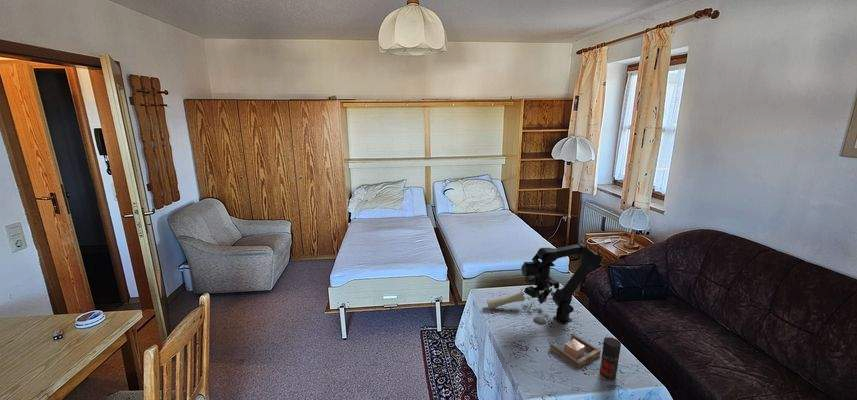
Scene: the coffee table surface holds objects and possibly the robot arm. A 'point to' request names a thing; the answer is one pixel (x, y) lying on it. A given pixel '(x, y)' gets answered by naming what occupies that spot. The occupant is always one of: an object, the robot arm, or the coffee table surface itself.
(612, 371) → the deodorant
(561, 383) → the coffee table surface
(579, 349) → the terracotta block
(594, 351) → the bay
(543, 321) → the pad
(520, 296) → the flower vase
